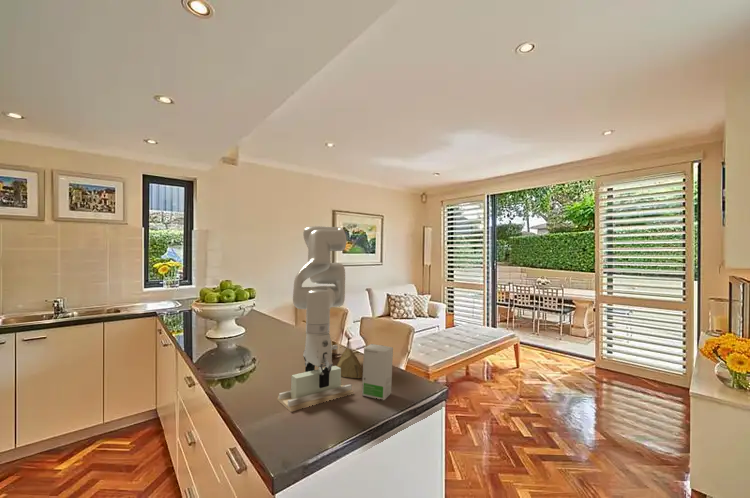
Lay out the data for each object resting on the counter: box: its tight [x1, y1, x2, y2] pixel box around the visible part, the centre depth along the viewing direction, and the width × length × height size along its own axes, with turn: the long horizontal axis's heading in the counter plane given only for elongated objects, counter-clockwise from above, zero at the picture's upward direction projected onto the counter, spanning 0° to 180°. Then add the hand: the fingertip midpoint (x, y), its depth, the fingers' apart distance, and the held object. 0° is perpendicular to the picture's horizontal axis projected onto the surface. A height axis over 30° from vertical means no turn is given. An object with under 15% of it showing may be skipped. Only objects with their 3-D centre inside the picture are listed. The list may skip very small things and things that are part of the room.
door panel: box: [290, 365, 342, 399], centre depth 109 cm, size 16×4×7 cm, turn 128°
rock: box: [336, 347, 363, 379], centre depth 128 cm, size 11×9×10 cm
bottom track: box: [276, 383, 354, 413], centre depth 109 cm, size 22×10×2 cm, turn 128°
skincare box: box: [361, 343, 394, 401], centre depth 111 cm, size 8×7×16 cm
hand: (316, 382), depth 109 cm, fingers open, 9 cm apart
